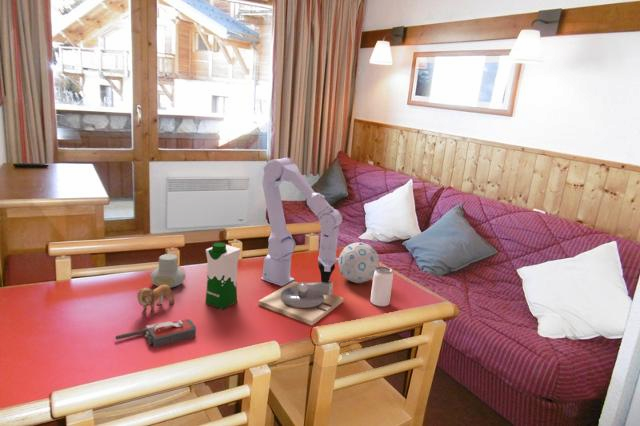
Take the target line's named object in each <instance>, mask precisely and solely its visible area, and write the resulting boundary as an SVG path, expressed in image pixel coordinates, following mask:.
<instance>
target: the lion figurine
mask: <svg viewBox="0 0 640 426" xmlns="http://www.w3.org/2000/svg"><path fill="white" fill-rule="evenodd" d="M164 296H165V297H166V298H167V299H170V302H169V304H170V305H174V303H175V298H174V295H173V294H172V289H171V288H170V286H168V285H160V286H156V288H154V289H152V288H150V287H142V288H141V289H139V290H138V292H137V296H136V297H137V302H138V304H139V305H140V306H142V308H143V310H142V311H141V313H142V314H146V313H147V311H148V310H147V309H148V307H150V312H149V315H150V316H151V315H155V305H157V306H158V305H159V306H160V305H161V304H162V302H164V301H163V300H164V299H165V298H164ZM155 303H156V304H155Z"/></svg>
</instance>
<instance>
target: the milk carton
mask: <svg viewBox="0 0 640 426" xmlns="http://www.w3.org/2000/svg"><path fill="white" fill-rule="evenodd" d="M241 251H242V249H241V248H239V247H236V246H232V245H229V244H226V243H225V242H221V241H219V242H214V243H212V246H211V247H208V248H206V249H205V253H206V255H205V256H206V261H207V269H206V270H207V272H206V275H207V277H206V291H205V292H206V293H205V304H207V305H211V306H212V307H215V308H218V309H220V310H224V309H226V308H228V307H229V306H232V305H233V304H235V303H237V302H238V291H237V290H238V289H237V288H238V287H237V281H238V266H239V265H238V264H239V259H240V255H241Z"/></svg>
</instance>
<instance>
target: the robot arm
mask: <svg viewBox="0 0 640 426" xmlns="http://www.w3.org/2000/svg"><path fill="white" fill-rule="evenodd" d="M263 173H264V174H263V176H262V177H263V178H262V183H261V185H262V189H263V194H264V199H265V204H266V209H267V216H268V220H269V221H268V222H269V227H270V230H271V233H270V234H269V235H270V236H269V237H268V247H267V253H268V254H267V255H266V256H265V257H264V260H263V263H262V264H263V267H262V277H261V278H260V279H261V280H262V281H266V282H268V283H272V284H274V285H277V286H280V287H284V286H286V285H288V284H289V283H291V282H293V281H295V278H294V277H292V276H291V267H292V266H291V265H292V255H293V252H294V251H295V250H296V245H297V244H296V241H295V240H294V239H293V236H292V232H291V231H289V230H288V228H287V224H286V218H285V212H284V207H283V202H282V195H281V191H280V185H281V184H282V183H283V181H284V182H285V181H286V182H290V183H292V185H294V187H295V188H296V189H297V190H298V191H299V192H300V193H301V194H302V196H304V198H306V205H307V206H308V208H309V209H310V210H311V211H312V213H314V214H315V216H316V217H317V218H318V223H319V226H320V228H321V231H320V242H319V250H318V251H319V252H318V256H317V260H318V263H317V266H318V269H319V272H320V279H321V280H320V282H328V281H330V279H331V275H332V273H333V272H334V270H335V268H336V266H335V264H336V262H337V263H339V257H337V250H338V238H339V231H340V230H339V229H340V225H341V224H342V223H343V215H342V213H341V211H340V210H338V209H335V208H334V206H331V205H330V203H329V202H328V201H327V200H326V199H325V198H326V196H325V195H324V194H321V193H320V192H315V191H314V189H313V188H312V187H311V185H310V184H309V182H308V181H307V180H306V179H305V177H304V175H303V174H302V173H301V172H300V170H299V168H298V165H297V164H295V163H294V161H293V159H291V157H283V158H277V159H270V160H268V161H267V163H266V164H265V165H264V166H263Z"/></svg>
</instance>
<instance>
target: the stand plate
mask: <svg viewBox="0 0 640 426" xmlns="http://www.w3.org/2000/svg"><path fill="white" fill-rule="evenodd" d="M299 283H300V282H297V281H295V280H293V281H291V282H289V283H287V284H286V285H284V286H281V288H279V289H277V290H275V291H274V292H271V293H270V294H268V295H266V296H264V297H263V298H261V299H259V300H258V303H257V304H258V306H260V307H263V308H266V309H267V310H270V311H272V312H276V313H278V314H281V315H283V316H286V317H289V318H292V319H294V320H297V321H298V322H302V323H305V324H306V325H309V326H314V325H315V324H316V323H317V322H318V321H320V320H321V319H322V318H324V317H326V316H327V315H328V314H329V313H330V312H332V311H333V310H334V309H335V308H337V307H338V306H340V305H342V303H343V302H344V297H342V296H339V295H336V294H333V293H332V295H323V296H324V301H323V304H322V305H321V306H319V307H317V308H313V309H297V308H293V307H290V306H287V305H285V304H284V303H283V302H282V301H281V292H282V291H283V290H285V289H287V288H290V287H296V286H299Z"/></svg>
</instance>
